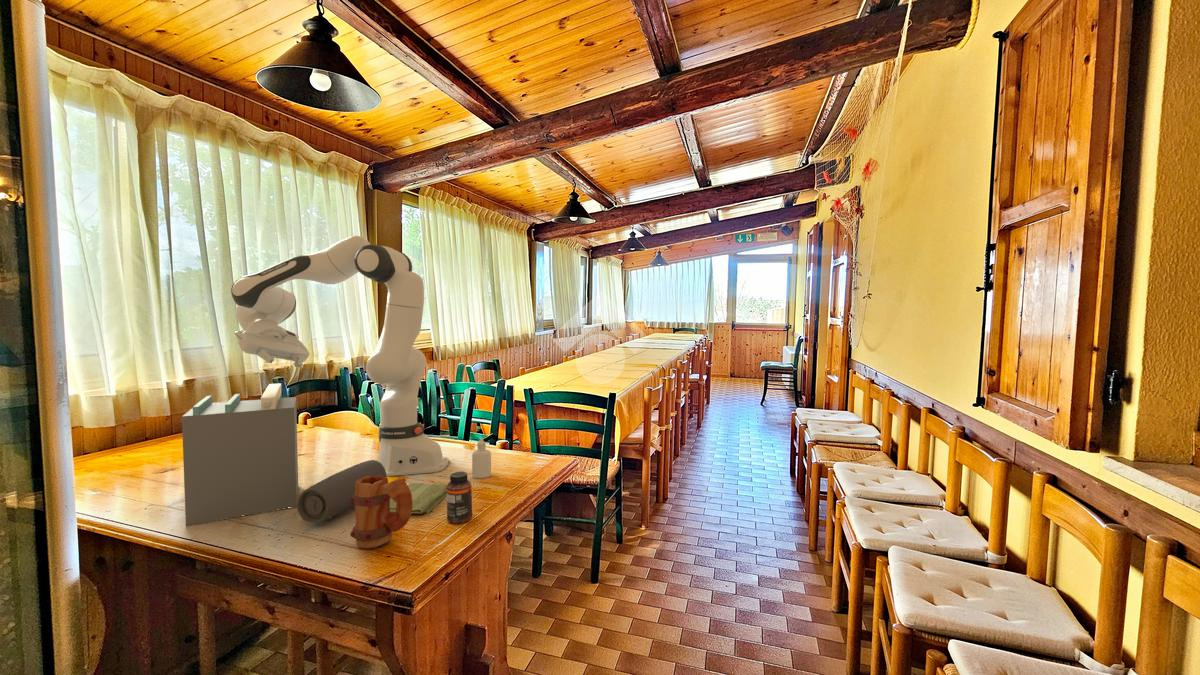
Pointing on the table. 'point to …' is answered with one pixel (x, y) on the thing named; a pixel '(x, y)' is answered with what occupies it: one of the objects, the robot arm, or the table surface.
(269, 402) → the bar
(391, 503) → the washcloth
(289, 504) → the stand
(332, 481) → the bluetooth speaker
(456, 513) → the supplement bottle
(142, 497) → the table surface
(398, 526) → the mug
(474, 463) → the eye dropper bottle
